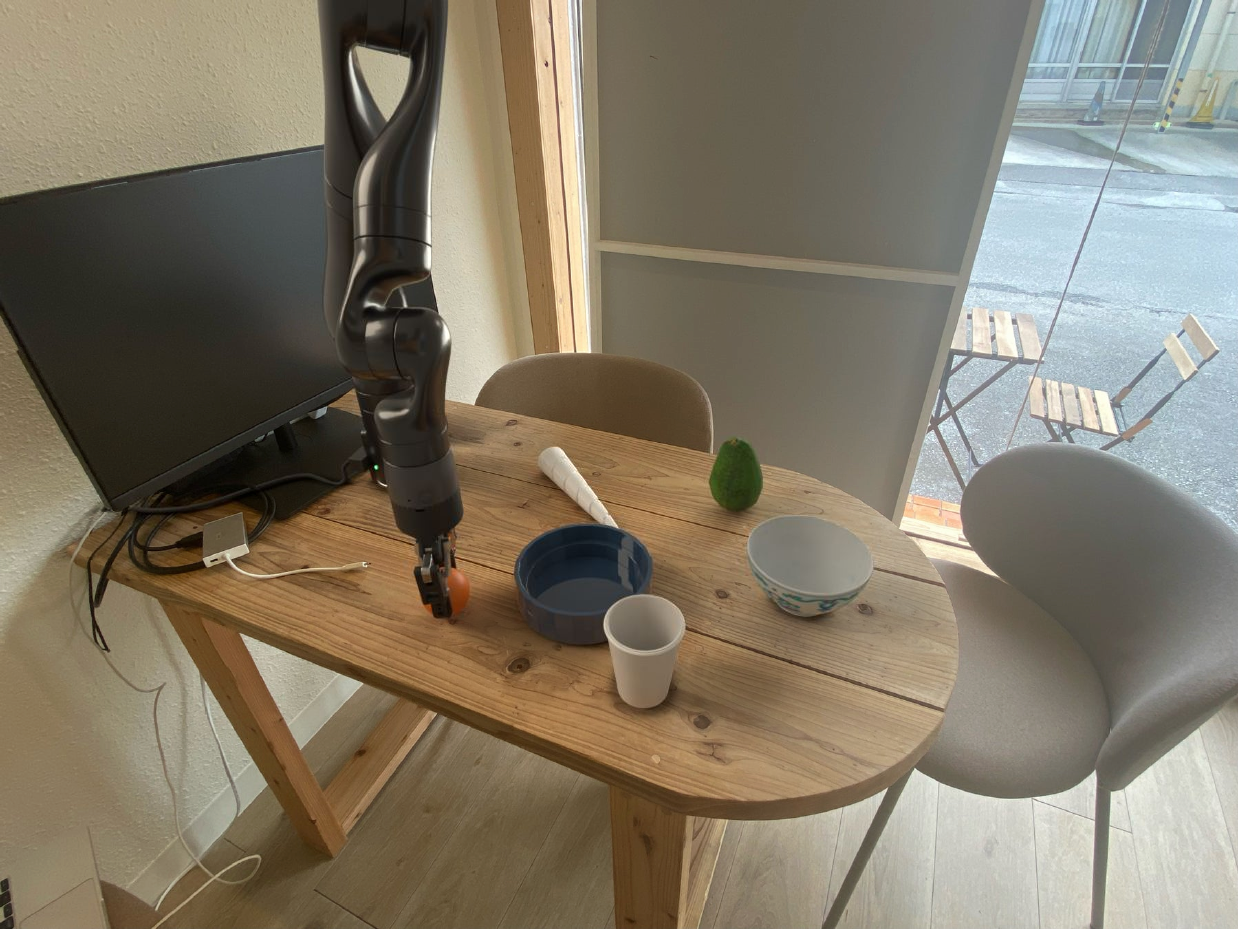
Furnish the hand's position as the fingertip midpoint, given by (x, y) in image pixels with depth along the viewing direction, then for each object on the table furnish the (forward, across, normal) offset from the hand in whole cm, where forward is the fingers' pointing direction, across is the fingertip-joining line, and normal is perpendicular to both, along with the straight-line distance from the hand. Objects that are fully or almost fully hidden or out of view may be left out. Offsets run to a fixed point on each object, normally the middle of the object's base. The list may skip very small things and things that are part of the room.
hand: (446, 596), depth 79 cm
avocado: (+3, -17, +41) cm, 45 cm away
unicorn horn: (+3, -22, +18) cm, 29 cm away
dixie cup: (+2, +14, +23) cm, 27 cm away
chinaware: (+2, +3, +45) cm, 45 cm away
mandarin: (-1, 0, 0) cm, 1 cm away
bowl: (+2, 0, +17) cm, 17 cm away
